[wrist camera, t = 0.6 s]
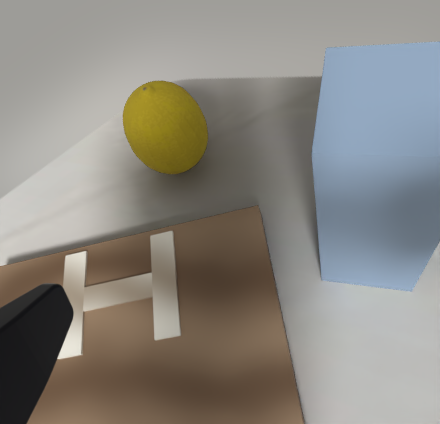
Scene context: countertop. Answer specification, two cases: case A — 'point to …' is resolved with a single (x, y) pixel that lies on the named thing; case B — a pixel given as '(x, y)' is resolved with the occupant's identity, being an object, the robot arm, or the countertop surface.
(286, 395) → the board
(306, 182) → the countertop surface
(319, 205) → the light blue block
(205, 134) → the lemon
